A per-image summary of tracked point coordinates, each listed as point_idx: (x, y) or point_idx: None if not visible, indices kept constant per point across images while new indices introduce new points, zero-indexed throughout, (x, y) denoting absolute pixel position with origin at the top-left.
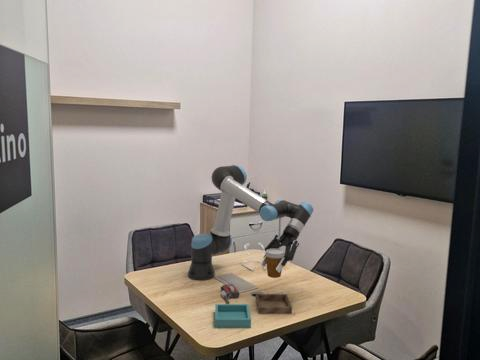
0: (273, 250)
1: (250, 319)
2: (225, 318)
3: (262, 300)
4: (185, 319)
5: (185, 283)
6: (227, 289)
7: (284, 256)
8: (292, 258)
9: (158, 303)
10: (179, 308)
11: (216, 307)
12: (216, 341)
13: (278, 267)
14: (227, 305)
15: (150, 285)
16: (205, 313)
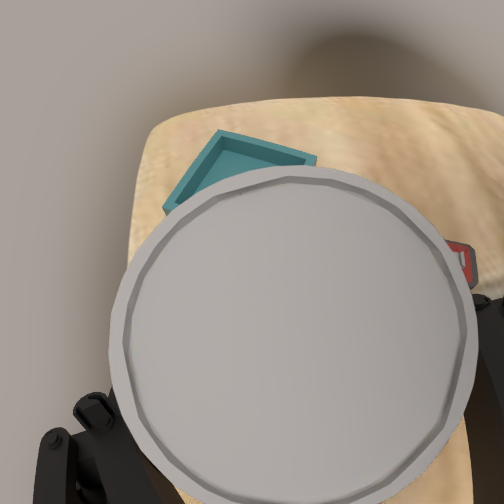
0: (403, 349)
1: (163, 205)
2: (209, 150)
3: None
4: (293, 111)
5: (497, 183)
6: None
7: (97, 403)
8: (76, 488)
9: (390, 100)
10: (357, 117)
11: (291, 151)
12: (163, 135)
13: None
14: None
15: (477, 124)
16: (311, 150)
